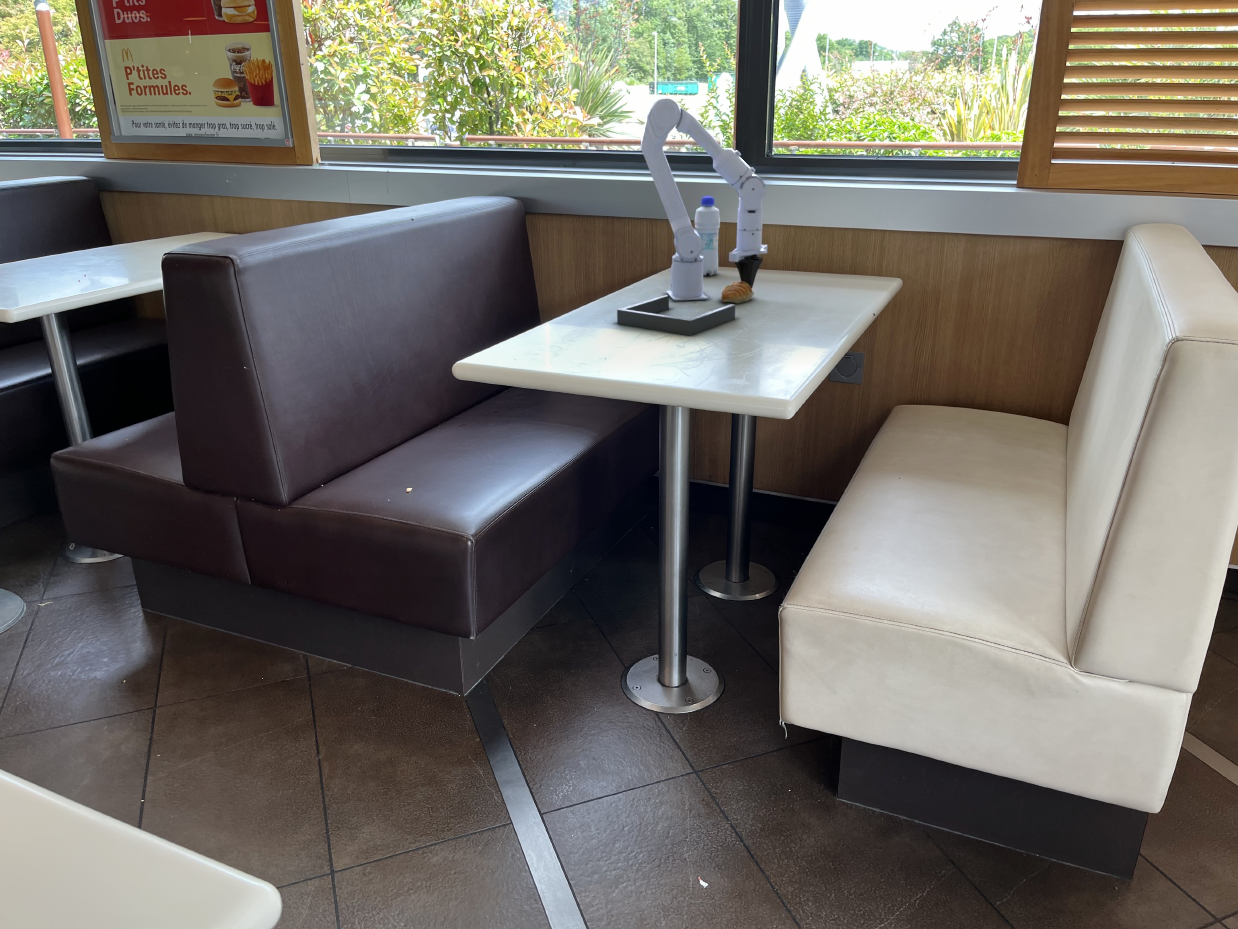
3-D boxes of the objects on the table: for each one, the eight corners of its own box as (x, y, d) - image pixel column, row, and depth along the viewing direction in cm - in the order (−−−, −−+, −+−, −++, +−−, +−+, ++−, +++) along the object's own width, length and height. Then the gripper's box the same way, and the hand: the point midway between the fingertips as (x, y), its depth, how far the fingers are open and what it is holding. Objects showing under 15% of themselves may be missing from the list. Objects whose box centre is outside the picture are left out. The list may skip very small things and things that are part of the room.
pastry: (742, 305, 201) (743, 288, 200) (714, 303, 204) (714, 287, 202) (754, 297, 209) (755, 281, 207) (727, 295, 212) (727, 279, 210)
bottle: (716, 276, 234) (719, 197, 226) (691, 276, 235) (693, 197, 228) (720, 272, 240) (722, 194, 232) (695, 271, 241) (697, 194, 234)
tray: (664, 308, 200) (664, 294, 199) (735, 318, 190) (735, 304, 189) (617, 323, 187) (616, 309, 186) (690, 335, 177) (690, 320, 176)
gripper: (749, 234, 197) (746, 295, 202) (780, 226, 207) (777, 285, 213) (721, 232, 201) (720, 292, 206) (753, 224, 211) (750, 282, 217)
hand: (747, 288), depth 210 cm, fingers closed
